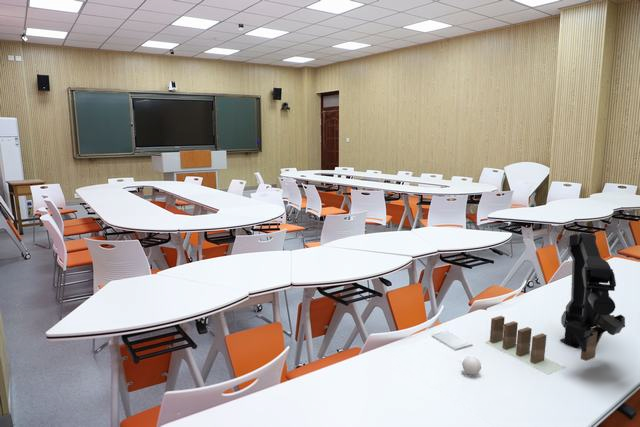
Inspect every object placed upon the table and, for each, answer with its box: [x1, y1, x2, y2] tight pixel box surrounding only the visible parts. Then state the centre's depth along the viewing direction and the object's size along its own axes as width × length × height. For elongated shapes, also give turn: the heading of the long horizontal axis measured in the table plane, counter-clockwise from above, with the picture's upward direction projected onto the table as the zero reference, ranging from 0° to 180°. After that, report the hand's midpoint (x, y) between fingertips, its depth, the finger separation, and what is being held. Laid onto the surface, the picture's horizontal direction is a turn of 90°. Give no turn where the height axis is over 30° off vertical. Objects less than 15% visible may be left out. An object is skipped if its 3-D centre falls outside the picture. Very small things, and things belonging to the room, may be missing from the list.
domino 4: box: [530, 333, 547, 364], centre depth 148 cm, size 2×5×9 cm, turn 119°
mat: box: [484, 340, 566, 375], centre depth 154 cm, size 9×25×1 cm, turn 29°
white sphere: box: [459, 355, 482, 376], centre depth 142 cm, size 8×6×6 cm
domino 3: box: [516, 326, 533, 357], centre depth 153 cm, size 2×5×9 cm, turn 119°
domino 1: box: [489, 315, 505, 344], centre depth 163 cm, size 2×5×9 cm, turn 119°
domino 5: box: [580, 329, 598, 362], centre depth 143 cm, size 2×5×9 cm, turn 119°
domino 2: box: [502, 321, 519, 350], centre depth 158 cm, size 2×5×9 cm, turn 119°
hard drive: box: [430, 330, 473, 352], centre depth 164 cm, size 2×8×12 cm
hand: (588, 349), depth 144 cm, fingers closed on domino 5, 5 cm apart
